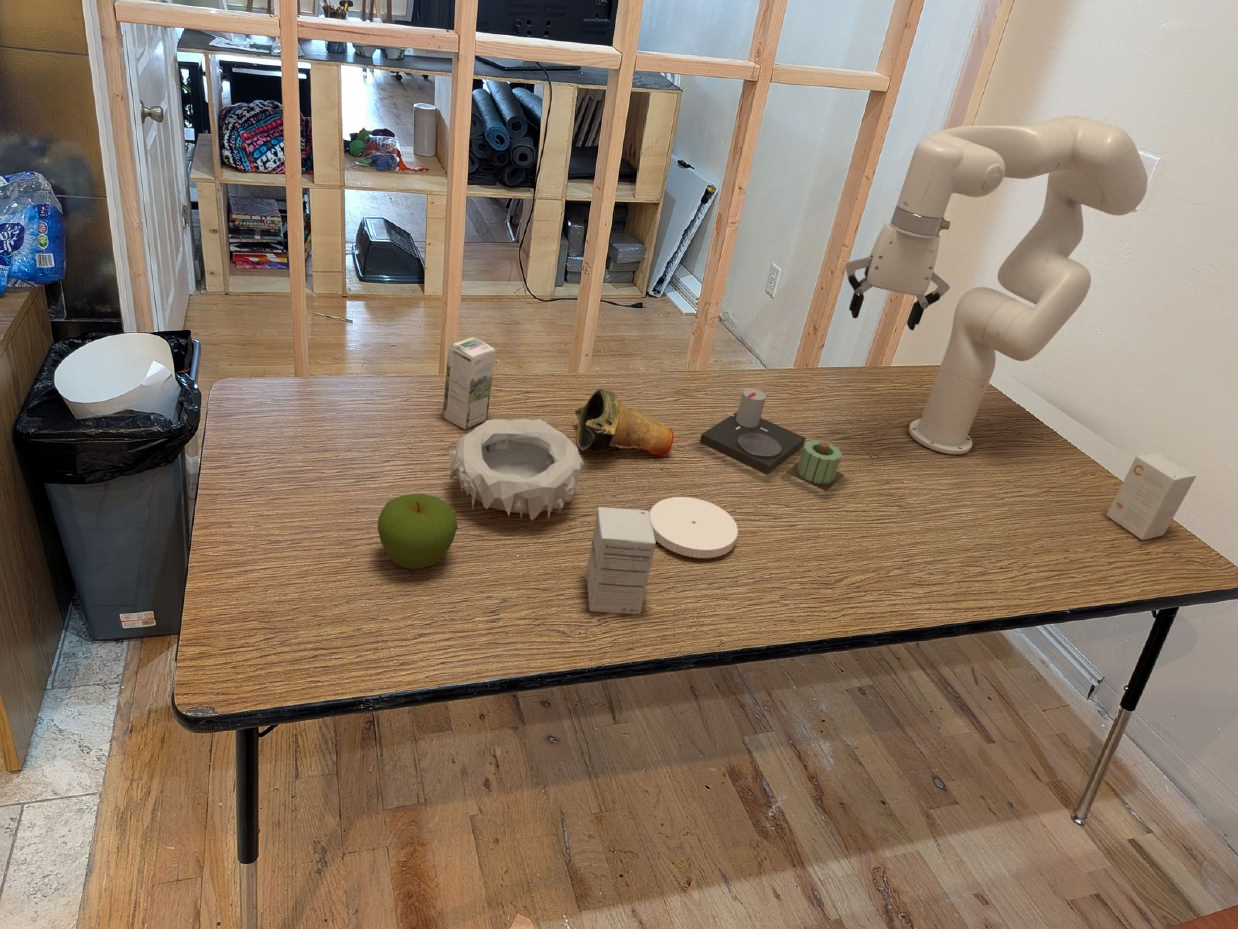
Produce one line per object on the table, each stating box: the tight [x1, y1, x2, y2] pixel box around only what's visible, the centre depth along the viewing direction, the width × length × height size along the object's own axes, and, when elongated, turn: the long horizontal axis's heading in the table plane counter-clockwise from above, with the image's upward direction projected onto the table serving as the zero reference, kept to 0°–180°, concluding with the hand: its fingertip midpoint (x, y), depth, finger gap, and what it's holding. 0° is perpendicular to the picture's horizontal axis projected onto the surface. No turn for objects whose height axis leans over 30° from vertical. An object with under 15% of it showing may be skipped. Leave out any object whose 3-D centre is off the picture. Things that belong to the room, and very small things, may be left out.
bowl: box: [449, 418, 585, 521], centre depth 142 cm, size 21×20×10 cm
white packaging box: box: [585, 506, 657, 615], centre depth 125 cm, size 7×7×13 cm
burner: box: [737, 433, 781, 459], centre depth 165 cm, size 8×8×1 cm
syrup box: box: [442, 337, 496, 431], centre depth 159 cm, size 6×6×14 cm
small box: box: [1105, 452, 1197, 541], centre depth 165 cm, size 8×6×13 cm
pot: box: [573, 388, 675, 459], centre depth 160 cm, size 17×11×18 cm
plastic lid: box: [649, 496, 739, 559], centre depth 143 cm, size 14×14×2 cm
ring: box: [797, 439, 843, 484], centre depth 162 cm, size 7×7×5 cm
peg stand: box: [785, 441, 845, 493], centre depth 163 cm, size 8×8×7 cm
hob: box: [699, 410, 807, 476], centre depth 169 cm, size 15×15×3 cm
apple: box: [377, 493, 458, 570], centre depth 125 cm, size 11×10×10 cm
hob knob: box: [736, 388, 767, 428], centre depth 171 cm, size 4×4×6 cm
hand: (881, 321), depth 156 cm, fingers open, 9 cm apart
